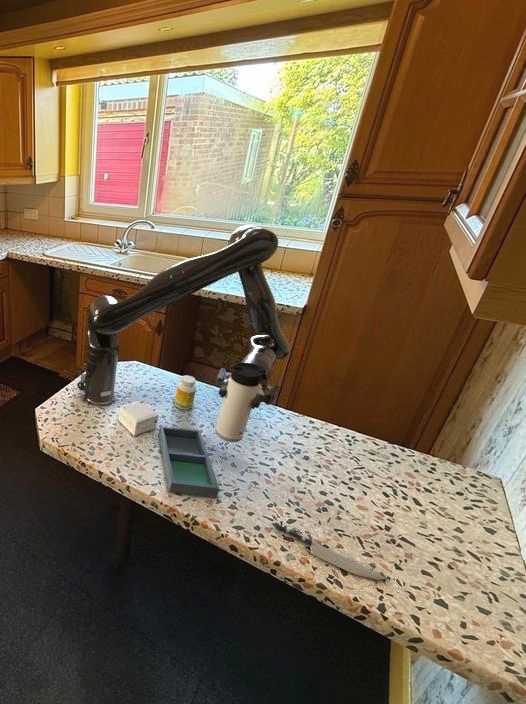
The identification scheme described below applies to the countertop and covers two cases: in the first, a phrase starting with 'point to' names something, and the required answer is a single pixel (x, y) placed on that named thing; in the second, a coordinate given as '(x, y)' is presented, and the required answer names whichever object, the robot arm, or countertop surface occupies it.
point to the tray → (187, 462)
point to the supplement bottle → (185, 392)
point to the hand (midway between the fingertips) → (237, 399)
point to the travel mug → (238, 401)
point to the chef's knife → (333, 556)
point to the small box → (138, 417)
